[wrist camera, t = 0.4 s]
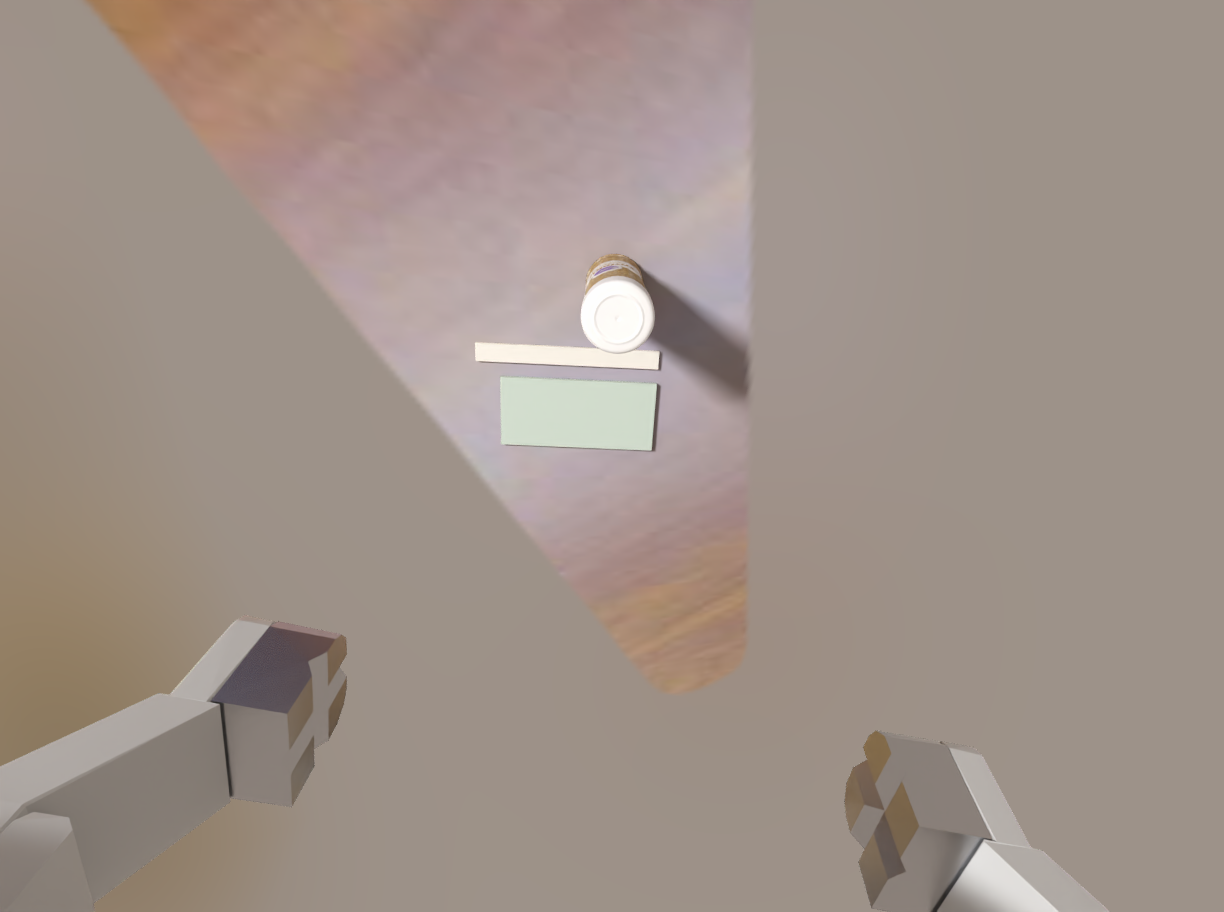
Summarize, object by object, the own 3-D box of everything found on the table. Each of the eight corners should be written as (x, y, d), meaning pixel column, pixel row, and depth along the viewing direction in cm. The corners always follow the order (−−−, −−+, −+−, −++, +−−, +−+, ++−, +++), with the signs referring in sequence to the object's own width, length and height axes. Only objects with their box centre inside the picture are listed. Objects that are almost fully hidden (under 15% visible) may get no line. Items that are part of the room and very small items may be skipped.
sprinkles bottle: (621, 241, 51) (627, 264, 39) (654, 290, 53) (670, 327, 41) (573, 276, 52) (565, 310, 40) (607, 323, 54) (609, 369, 42)
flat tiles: (475, 342, 54) (474, 343, 54) (659, 350, 55) (659, 352, 55) (478, 441, 58) (477, 443, 57) (651, 448, 58) (651, 450, 58)
